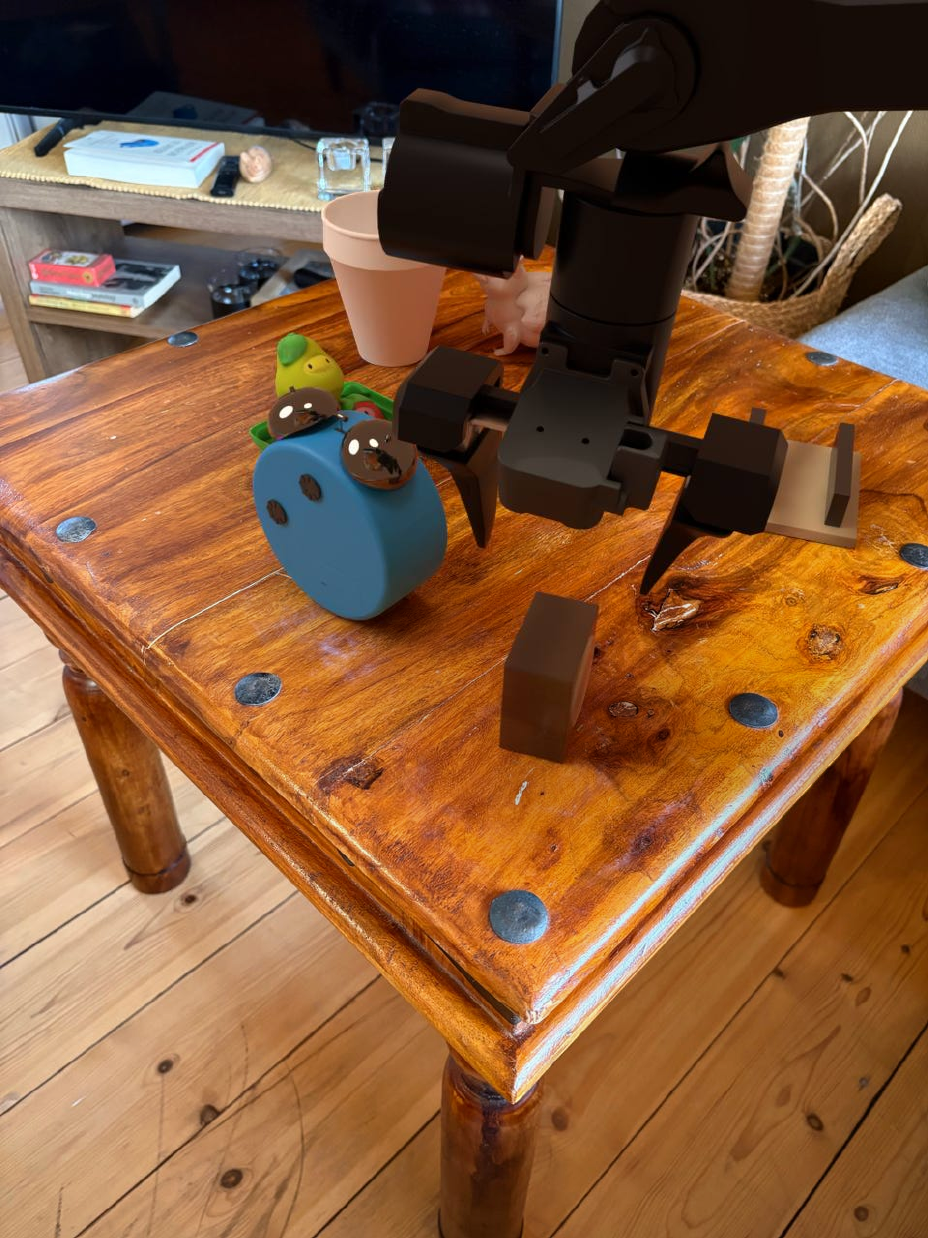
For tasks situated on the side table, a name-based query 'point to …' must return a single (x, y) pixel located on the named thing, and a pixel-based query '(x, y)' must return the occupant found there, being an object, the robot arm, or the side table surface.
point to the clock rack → (818, 489)
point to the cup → (379, 284)
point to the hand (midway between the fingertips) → (562, 566)
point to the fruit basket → (318, 383)
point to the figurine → (516, 306)
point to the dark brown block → (547, 676)
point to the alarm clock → (347, 505)
